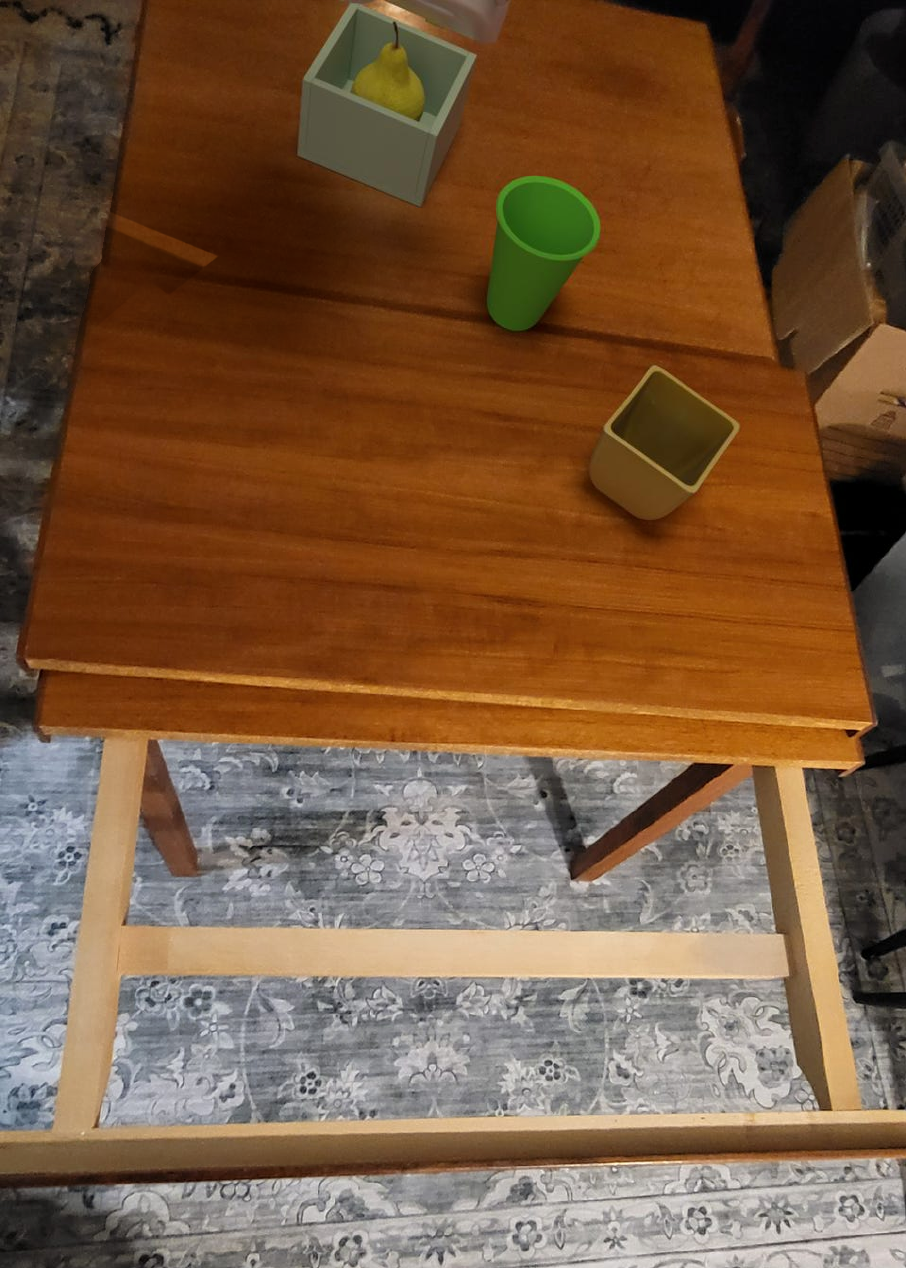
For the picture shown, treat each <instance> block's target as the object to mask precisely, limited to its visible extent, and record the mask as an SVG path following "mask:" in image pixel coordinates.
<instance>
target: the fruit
mask: <svg viewBox="0 0 906 1268" xmlns="http://www.w3.org/2000/svg"><path fill="white" fill-rule="evenodd" d="M393 25H394V29H395V32H396V43H389V44H387V45H386V46H384V47H383V49H382V51H381V53H380V55H379V58H378V59H377V60H376V61H375V62H374V63H371V64H369V65H368V66H367V67H365V68H363V69H362V70H361V71H360V72H359V73H358V75H357V77H356V78H355V80H354V82H353V85H352V88H351V92H350V93H352V94H354V95H357V96H359V97H361V98H364V99H366V100H368V101H371V102H373V103H375V104H378V105H380V106H382V107H385V108H387V109H389V110H392V111H394V112H396V113H399V114H401V115H403V116H406V117H408V118H410V119H413V120H415V121H418V122H419V121H420V119H421V117H422V115H423V111H424V107H425V95H424V90H423V86H422V84H421V82H420V80H419V78H418V77H417V75H416V74H415V73H414V72H413V71H412V70H411V69H410V68H409V67H408V63H407V55H406V52H405V50H404V48H403V47H402V46H401V45H399V44H398V43H399V42H398V28H397V24H396V22H395V21H394V22H393Z"/></svg>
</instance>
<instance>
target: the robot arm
mask: <svg viewBox="0 0 906 1268" xmlns="http://www.w3.org/2000/svg"><path fill="white" fill-rule="evenodd" d="M338 1H339V2H343V3H346V4H350V3H357V4H359V5H360V4H368V3H373V2H376V1H377V0H338ZM383 1H384V2H386V3H388V4H391V5H393V6H395V7H397V8H400V9H402V10H405V11H406V12H409V13H411V14H414V15H415V16H418V17H420V18H423V19H424V20H425V22H426V23H428V24H430V25H432V26H435V27H437V28H439V29H441V30H444V29H447V30H450V31H451V32H455V33H456V34H459V35H461V36H463V37H466V38H468V39H470V40H472V41H474V42H477V43H480V44H483V45H493V44H495V43H496V42H497V41H498V38H499V36H500V34H501V31H502V28H503V26H504V23H505V21H506V16H507V14H508V11H509V8H510V4H511V1H512V0H383Z"/></svg>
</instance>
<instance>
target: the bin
mask: <svg viewBox="0 0 906 1268" xmlns="http://www.w3.org/2000/svg"><path fill="white" fill-rule="evenodd" d="M394 21H395V22H396V24H397V28H398V42H399V43H398V44H399V45H401V46H402V47H403V48H404V50H405V52H406V55H407V63H408V67H409V68H410V69H411V70H412V71H413V72H414V73H415V74H416V75H417V77H418V78H419V80H420V82H421V84H422V86H423V90H424V95H425V107H424V111H423V115H422V117H421V119H420V121H419V122H418V121H415V120H413V119H410V118H408V117H406V116H403V115H401V114H399V113H396V112H394V111H392V110H389V109H387V108H385V107H382V106H380V105H378V104H375V103H373V102H371V101H368V100H366V99H364V98H361V97H359V96H357V95H354V94H352V93H350V92H351V88H352V85H353V82H354V80H355V78H356V77H357V75H358V73H359V72H360V71H361V70H362V69H363V68H365V67H367V66H368V65H369V64H371V63H374V62H375V61H376V60H377V59H378V58H379V55H380V53H381V51H382V49H383V47H384V46H386V45H387V44H389V43H396V32H395V29H394V25H393V22H394ZM477 57H478V55H477V54H476V53H474V52H471V51H469V50H466V49H465V48H462V47H460V46H458V45H455V44H454V43H451V42H449V41H446V40H444V39H442V38H439V37H437V36H435V35H432V34H430V33H427V32H426V31H423V30H421V29H418V28H416V27H414V26H412V25H409V24H407V23H404V22H402V21H400V20H398V19H396V18H394V17H390V16H388V15H387V14H384V13H382V12H379V11H377V10H376V9H372V8H370V7H368V6H366V5H363V4H362V3H360V4H357V3H349V5H348V6H347V7H346V9H345V11H344V12H343V14H342V16H341V17H340V19H339V21H338V22H337V23H336V25H335V27H334V28H333V30H332V32H331V33H330V35H329V37H328V38H327V40H326V41H325V42H324V44H323V46H322V47H321V49H320V51H319V53H318V54H317V55H316V57H315V59H314V60H313V62H312V63H311V65H310V66H309V68H308V70H307V72H305V75H304V76H303V78H302V82H301V83H302V85H301V99H300V114H299V126H298V140H297V141H298V142H297V152H296V153H297V157H300V158H302V159H304V160H306V161H309V162H311V163H313V164H316V165H319V166H321V167H323V168H325V169H328V170H330V171H333V172H335V173H337V174H339V175H340V174H341V175H342V176H345V177H347V178H350V179H352V180H354V181H357V182H359V183H361V184H363V185H367V186H369V187H371V188H373V189H375V190H379V191H380V192H383V193H386V194H388V195H390V196H391V197H392V196H393V197H394V198H397V199H400V200H402V201H404V202H407V203H409V204H411V205H414V206H415V207H418V208H422V207H423V204H424V202H425V200H426V198H427V196H428V193H429V192H430V189H431V187H432V185H433V183H434V181H435V179H436V177H437V175H438V173H439V170H440V168H441V166H442V164H443V162H444V160H445V158H446V156H447V153H448V152H449V150H450V147H451V145H452V143H453V142H454V139H455V138H456V135H457V133H458V131H459V129H460V124H461V121H462V118H463V113H464V109H465V105H466V101H467V97H468V93H469V89H470V85H471V81H472V78H473V73H474V69H475V66H476V61H477Z"/></svg>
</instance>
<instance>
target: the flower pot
mask: <svg viewBox="0 0 906 1268" xmlns="http://www.w3.org/2000/svg"><path fill="white" fill-rule="evenodd" d="M740 428H741V425H740V423H739V422H737V420H735V419H734V418H733V417H732V416H730V415H728V414H727V413H726V412H725V411H724V410H721V409H720V408H719V407H717V406H716V405H714V404H713V403H712V402H710V401H709V400H707V399H705V398H704V397H703V396H702V395H700V394H699V393H697V392H696V391H695V390H694V389H692V388H691V387H689V386H687V385H686V384H684V382H683V381H681V380H680V379H678V378H676V377H675V376H674V375H673V374H671V373H670V372H668V371H667V370H665V369H664V368H662V367H660V366H658V365H655V364H653V365H652V366H650V367H649V369H648V370H647V371H646V373H645V374H644V375H643V377H642V378H641V379H640V381H639V382H638V383H637V385H636V386H635V388H633V390H632V391H631V393H630V394H629V395H628V396H627V398H626V399H625V400H624V401H623V402H622V404H621V405H620V406H619V407H618V408H617V409H616V410H615V412H614V413H613V414H612V415H611V417H610V418H609V419H608V420H607V421H606V422H605V423H604V425H603V427H602V429H601V432H600V433H599V436H598V438H597V441H596V443H595V445H594V448H593V451H592V453H591V455H590V458H589V462H588V474H589V478H590V481H591V483H592V484H593V486H594V487H595V489H597V490H598V491H599V492H600V493H602V494H603V495H605V497H607V498H609V499H610V500H612V501H613V502H614V503H616V504H617V505H618V506H620V507H621V508H622V509H624V510H625V511H627V513H629V514H630V515H632V516H633V517H634V518H636V519H639V520H644V521H655V520H659V519H662V518H664V517H666V516H667V515H669V514H670V513H672V512H673V511H674V510H676V509H677V508H678V507H679V506H680V505H682V504H684V503H685V502H686V501H687V500H688V499H689V498H690V497H692V496H693V495H694V494H696V493H697V492H698V491H699V489H700V487H701V486H702V484H703V483H704V481H705V480H706V478H707V476H708V475H709V474H710V472H711V471H712V470H713V468H714V467H715V465H716V463H717V462H718V461H719V459H720V458H721V456H722V455H723V454H724V452H725V451H726V449H727V448H728V446H729V445H730V444H731V442H732V441H733V440H734V438H735V437H736V436H737V434H738V432H739V431H740Z"/></svg>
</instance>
